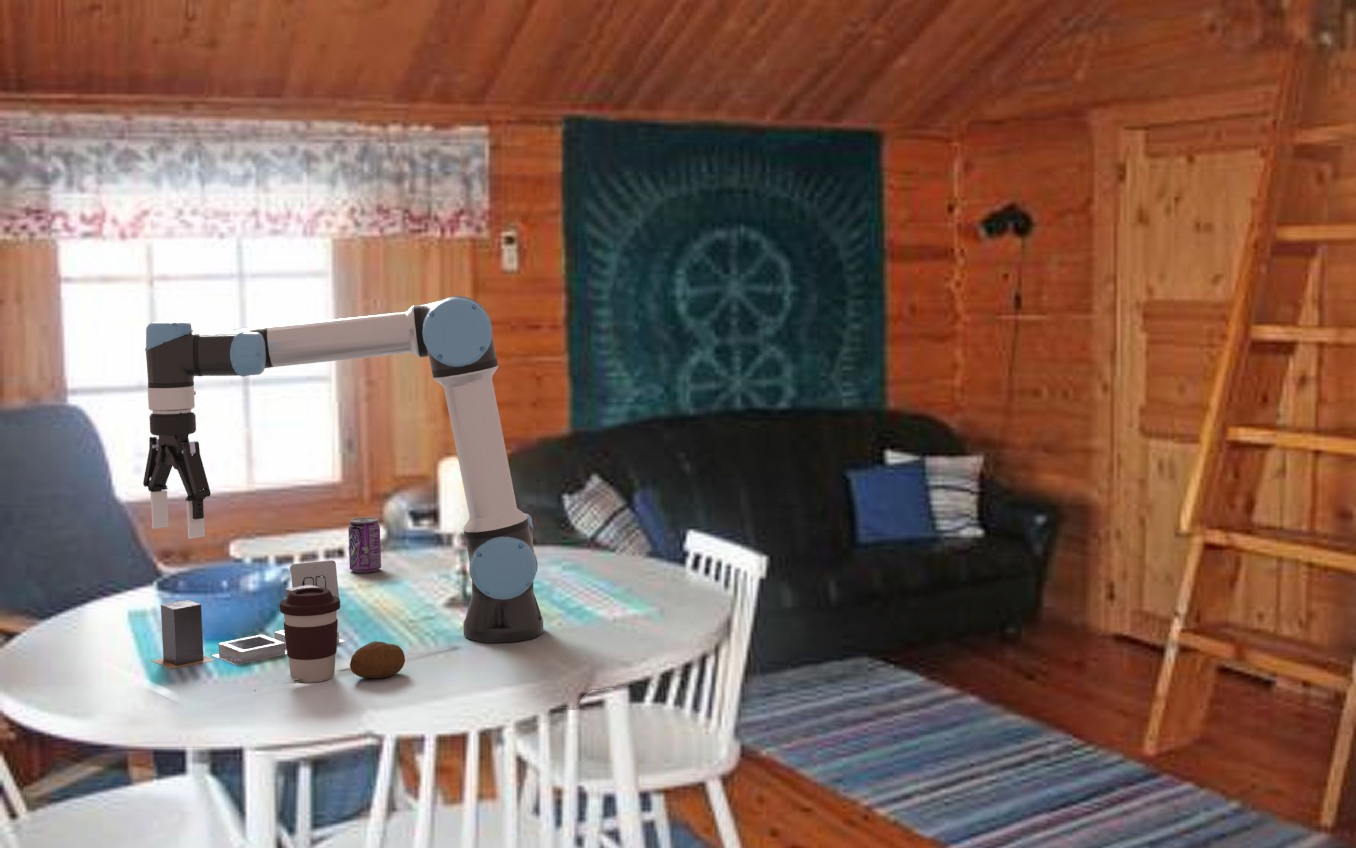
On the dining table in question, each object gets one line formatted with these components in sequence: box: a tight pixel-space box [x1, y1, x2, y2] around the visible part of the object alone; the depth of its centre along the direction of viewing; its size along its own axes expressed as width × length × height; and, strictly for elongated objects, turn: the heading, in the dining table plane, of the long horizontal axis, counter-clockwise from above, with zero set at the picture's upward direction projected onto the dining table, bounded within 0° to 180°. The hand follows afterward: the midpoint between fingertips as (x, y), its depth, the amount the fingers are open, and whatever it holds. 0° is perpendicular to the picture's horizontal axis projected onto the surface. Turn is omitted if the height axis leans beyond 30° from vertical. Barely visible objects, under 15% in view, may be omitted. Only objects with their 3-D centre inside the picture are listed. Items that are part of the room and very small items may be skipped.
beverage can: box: [347, 516, 382, 574], centre depth 328 cm, size 7×7×12 cm
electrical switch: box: [289, 559, 340, 598], centre depth 295 cm, size 9×5×9 cm, turn 116°
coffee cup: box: [279, 587, 341, 684], centre depth 242 cm, size 10×10×15 cm
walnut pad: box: [151, 654, 216, 670], centre depth 250 cm, size 8×8×1 cm
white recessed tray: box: [211, 629, 346, 666], centre depth 258 cm, size 9×22×3 cm, turn 135°
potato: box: [349, 640, 406, 679], centre depth 242 cm, size 7×10×6 cm
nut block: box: [160, 599, 204, 666], centre depth 250 cm, size 5×5×10 cm
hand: (178, 532), depth 248 cm, fingers open, 13 cm apart
